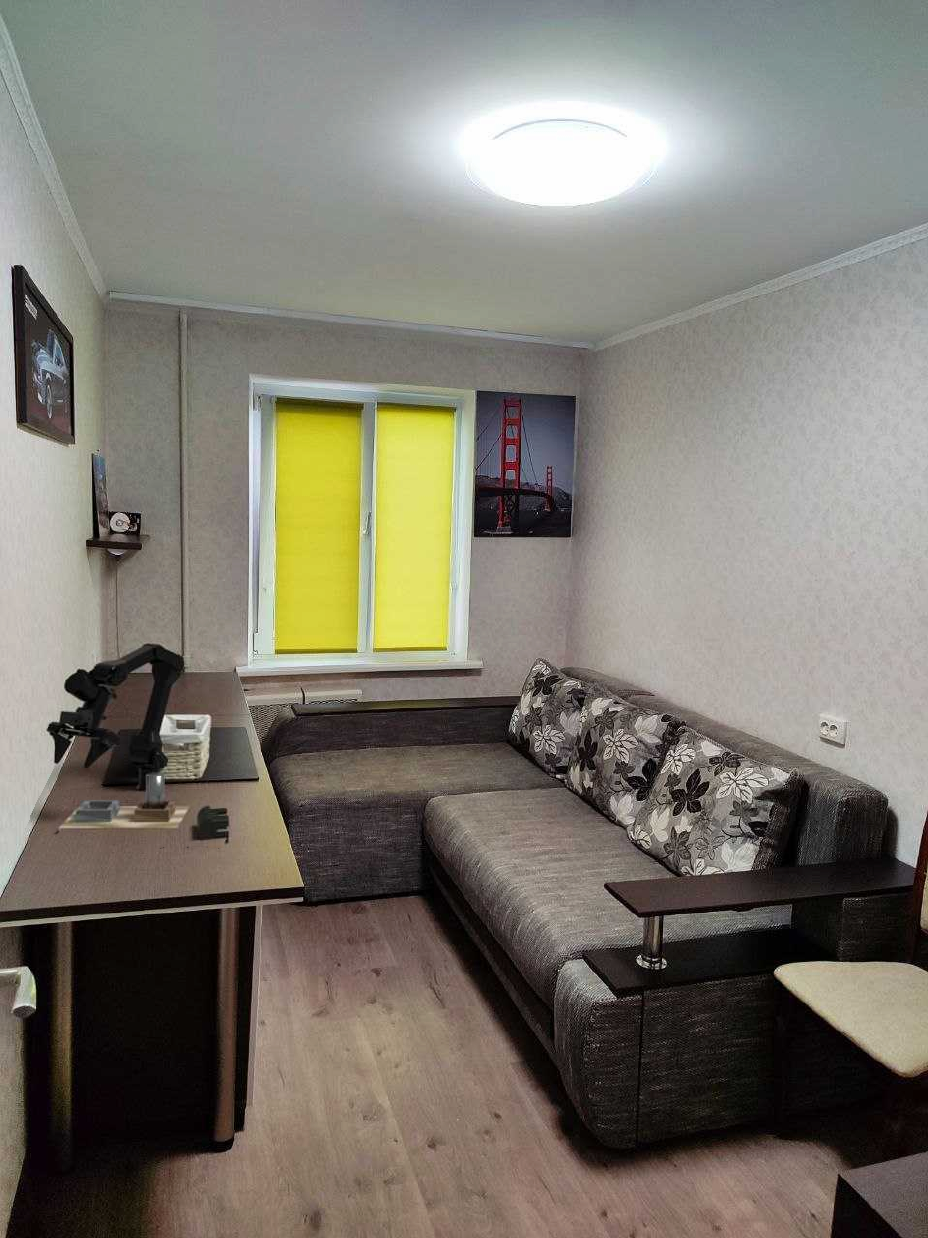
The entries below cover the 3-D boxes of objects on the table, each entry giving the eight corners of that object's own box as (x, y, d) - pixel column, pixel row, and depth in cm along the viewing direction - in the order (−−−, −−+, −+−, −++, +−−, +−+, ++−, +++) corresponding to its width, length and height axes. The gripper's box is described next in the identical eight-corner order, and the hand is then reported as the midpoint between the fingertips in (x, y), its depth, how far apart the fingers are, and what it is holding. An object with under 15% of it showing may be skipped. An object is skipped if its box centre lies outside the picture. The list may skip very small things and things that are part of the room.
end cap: (196, 832, 222) (196, 806, 221) (226, 830, 224) (226, 804, 223) (198, 847, 212) (198, 819, 212) (228, 844, 215) (229, 817, 214)
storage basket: (203, 781, 263) (203, 732, 261) (145, 782, 260) (145, 732, 258) (212, 758, 286) (212, 713, 285) (159, 759, 284) (159, 713, 282)
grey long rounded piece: (148, 813, 229) (148, 772, 228) (166, 813, 229) (166, 772, 228) (144, 819, 225) (144, 777, 223) (162, 819, 225) (162, 777, 224)
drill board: (79, 812, 233) (79, 795, 232) (189, 811, 236) (189, 795, 235) (58, 834, 217) (58, 816, 216) (177, 833, 220) (177, 816, 220)
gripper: (45, 692, 227) (19, 750, 220) (105, 700, 221) (81, 759, 215) (72, 709, 237) (48, 765, 230) (130, 716, 231) (108, 774, 224)
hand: (70, 765), depth 224 cm, fingers open, 9 cm apart
